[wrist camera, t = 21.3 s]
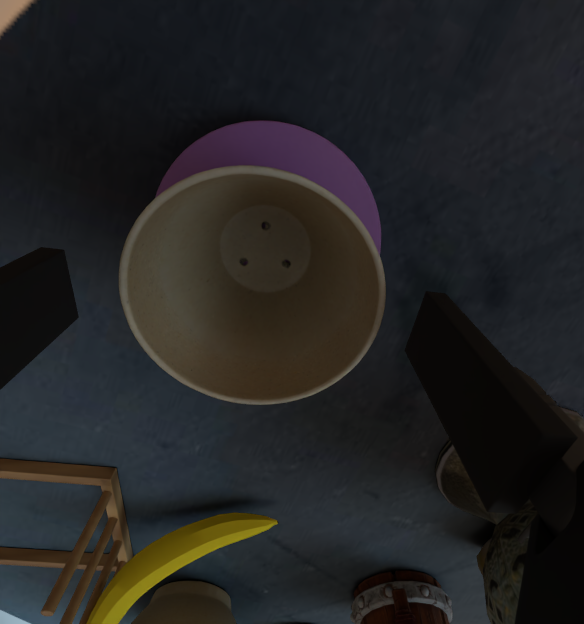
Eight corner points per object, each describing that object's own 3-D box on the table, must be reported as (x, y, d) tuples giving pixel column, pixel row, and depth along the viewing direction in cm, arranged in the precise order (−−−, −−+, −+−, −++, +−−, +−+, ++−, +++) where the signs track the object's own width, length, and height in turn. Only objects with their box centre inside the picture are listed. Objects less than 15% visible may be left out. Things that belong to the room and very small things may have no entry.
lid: (149, 103, 17) (139, 100, 15) (403, 140, 17) (411, 140, 16) (164, 325, 23) (157, 335, 22) (351, 345, 23) (353, 356, 22)
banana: (261, 482, 35) (289, 542, 30) (78, 601, 30) (76, 694, 26) (253, 469, 33) (281, 531, 28) (57, 594, 29) (51, 692, 24)
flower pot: (139, 236, 18) (60, 290, 12) (277, 104, 16) (268, 86, 9) (257, 351, 22) (244, 438, 16) (387, 263, 19) (434, 327, 13)
